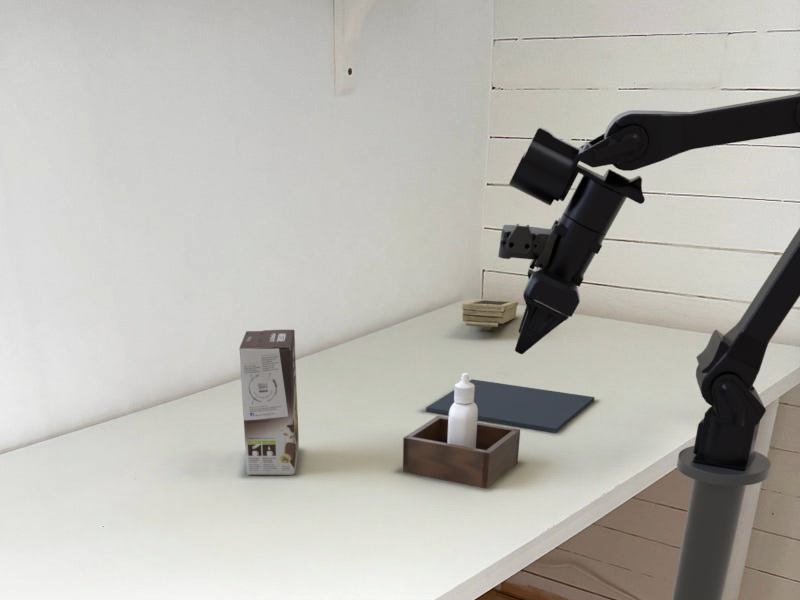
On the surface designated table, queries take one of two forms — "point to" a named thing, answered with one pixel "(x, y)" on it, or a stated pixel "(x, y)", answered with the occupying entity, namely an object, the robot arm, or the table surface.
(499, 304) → the box
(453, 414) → the eye dropper bottle
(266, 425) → the coffee box
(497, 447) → the desk box
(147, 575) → the table surface
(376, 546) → the table surface
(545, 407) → the desk mat
